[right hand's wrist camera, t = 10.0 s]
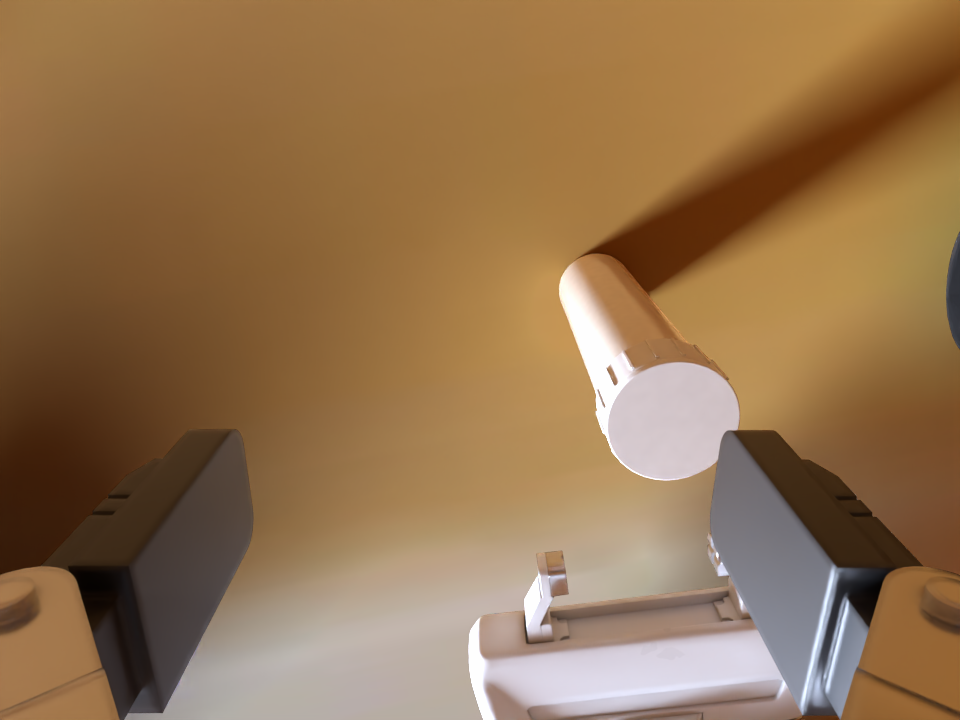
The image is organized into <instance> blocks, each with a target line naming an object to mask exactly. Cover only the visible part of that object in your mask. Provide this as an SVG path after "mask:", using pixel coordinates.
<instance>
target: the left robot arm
mask: <svg viewBox="0 0 960 720" xmlns="http://www.w3.org/2000/svg"><path fill="white" fill-rule="evenodd" d="M707 539H708V541H709V545H708V556H709V559H710V561H711V563H713V564H714V569H715V571H716V573H717V575H718V576H727V575H729V574H728V572H727V570H726V569H725V567H724V565H723V563H722V561H721V559H720V557H719V555H718V553H717V551H716V549H715V547H714V544H713V540H712V535H711V533H708V534H707ZM545 554H546V555H545ZM536 555H537V564H538V572H539V576H537V578H536V580H535V582H534V583H533V585H532V587H531V589H530V591H529V592H528V594H527V596H526V598H525V600H524V603H525V610H523V611H515V612H507V613H498V614H488V615H483V616H481V617H480V618H479V619H478V620H477V622H476V623H475V625H474V626H473V628H472V629H471V632H470V639H469V667H470V675H471V680H472V684H473V688H474V692H475V695H476V698H477V702H478V705H479V708H480V711H481V713H482V716H483V719H484V720H799V719H801V718H802V716H803V715H802V713H801V711H800V710H799V708H798V706H797V704H796V702H795V700H794V698H793V696H792V694H791V692H790V691H789V689H788V687H787V685H786V683H785V681H784V679H783V677H782V675H781V673H780V671H779V670H778V668H777V666H776V664H775V662H774V660H773V658H772V656H771V654H770V652H769V650H768V649H767V647H766V645H765V643H764V641H763V639H762V637H761V635H760V633H759V631H758V630H757V628H756V626H755V624H754V622H753V620H752V618H751V616H750V614H749V612H748V610H747V609H746V607H745V605H744V603H743V601H742V599H741V597H740V595H739V593H738V591H737V590H736V588H735V586H734V584H733V582H732V580H731V578H730V577H729V586H727V587H718V588H710V589H701V590H693V591H684V592H676V593H667V594H659V595H650V596H642V597H633V598H625V599H617V600H608V601H600V602H591V603H583V604H574V605H566V606H557V607H549V606H550V604H551V602H552V600H553V598H554V596H560V595H566V594H569V593H568V585H567V579H566V578H567V577H566V570H565V564H564V558H563V552H562V551H554V552H545V553H538V554H536Z"/></svg>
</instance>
